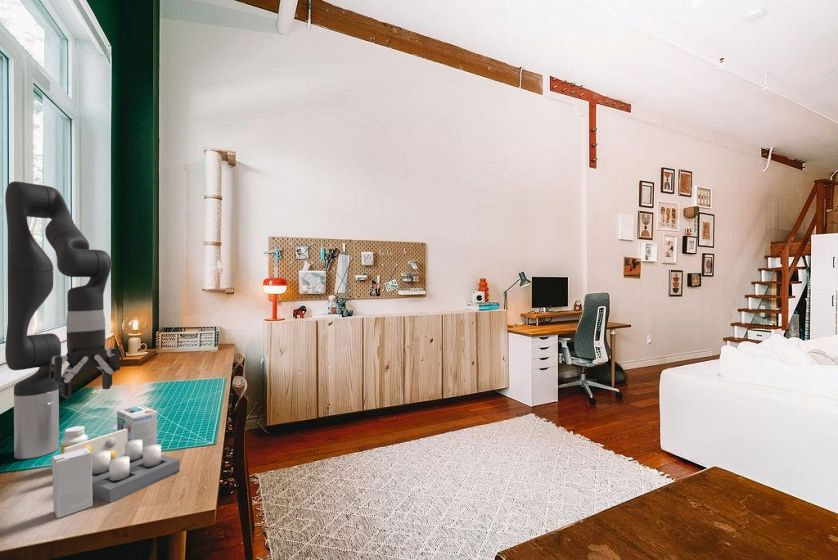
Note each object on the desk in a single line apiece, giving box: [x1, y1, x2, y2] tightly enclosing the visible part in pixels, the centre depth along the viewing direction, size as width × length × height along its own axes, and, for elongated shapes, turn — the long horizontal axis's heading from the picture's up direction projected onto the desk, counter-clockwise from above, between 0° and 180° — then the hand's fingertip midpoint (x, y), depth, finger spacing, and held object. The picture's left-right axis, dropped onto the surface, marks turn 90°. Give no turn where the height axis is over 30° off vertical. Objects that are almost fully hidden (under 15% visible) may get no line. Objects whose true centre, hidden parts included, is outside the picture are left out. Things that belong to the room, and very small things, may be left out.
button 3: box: [125, 440, 143, 461], centre depth 106 cm, size 4×4×4 cm
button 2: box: [109, 456, 130, 481], centre depth 96 cm, size 4×4×4 cm
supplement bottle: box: [60, 425, 89, 454], centre depth 108 cm, size 5×5×10 cm
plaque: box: [64, 429, 128, 459], centre depth 106 cm, size 1×14×8 cm, turn 155°
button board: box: [92, 454, 181, 504], centre depth 101 cm, size 16×16×3 cm
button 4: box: [143, 444, 162, 467], centre depth 102 cm, size 4×4×4 cm
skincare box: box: [51, 448, 94, 519], centre depth 87 cm, size 6×4×12 cm
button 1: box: [91, 451, 111, 474], centre depth 99 cm, size 4×4×4 cm
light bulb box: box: [116, 404, 158, 448], centre depth 119 cm, size 11×7×11 cm, turn 55°
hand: (87, 393), depth 103 cm, fingers open, 8 cm apart
